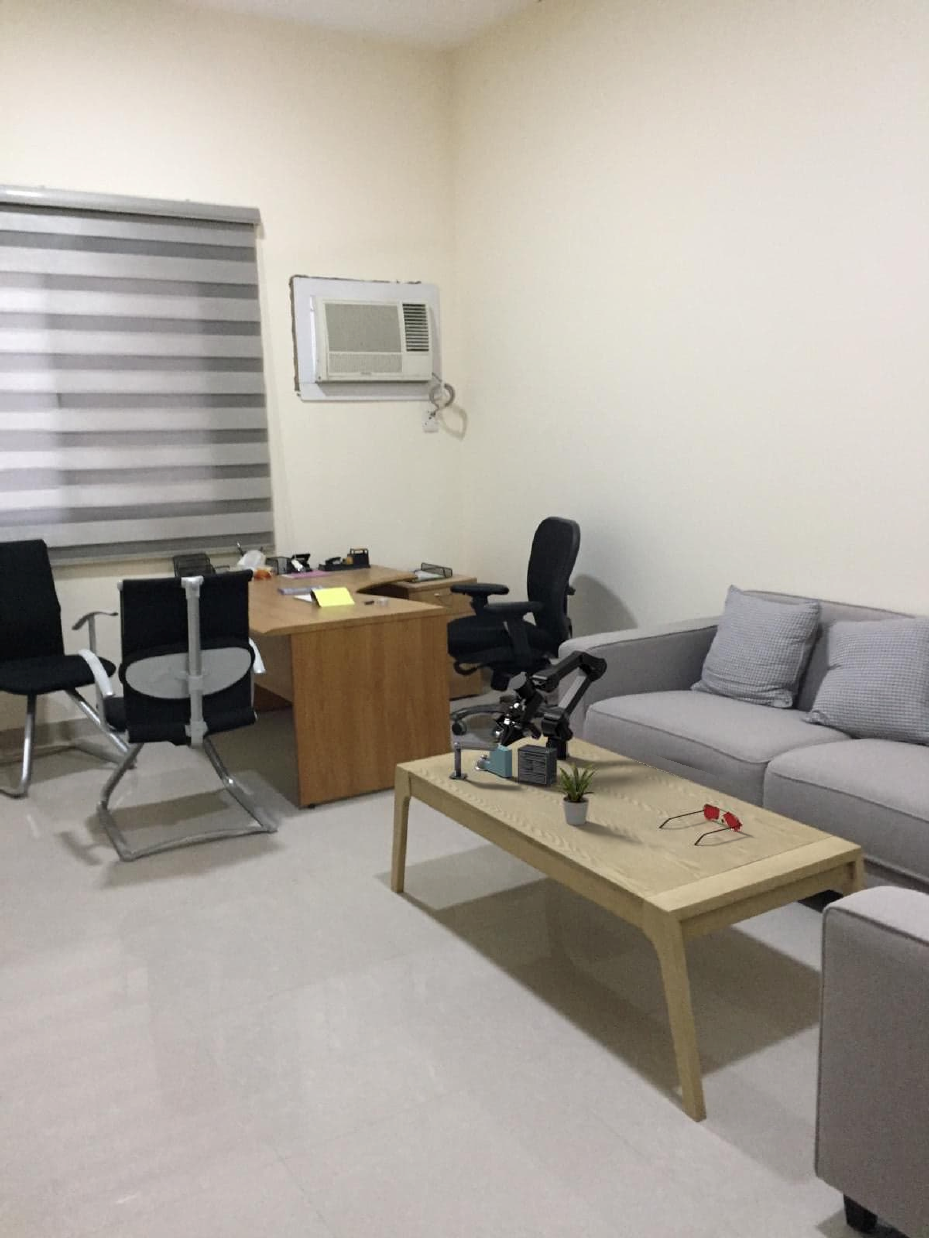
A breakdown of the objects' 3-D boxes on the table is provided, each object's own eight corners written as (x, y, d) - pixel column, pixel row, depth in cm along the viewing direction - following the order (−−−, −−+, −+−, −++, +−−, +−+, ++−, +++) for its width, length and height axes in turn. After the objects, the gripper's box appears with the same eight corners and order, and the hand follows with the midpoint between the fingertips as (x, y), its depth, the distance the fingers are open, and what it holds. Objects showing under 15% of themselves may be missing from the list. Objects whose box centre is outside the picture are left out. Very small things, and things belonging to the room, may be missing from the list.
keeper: (498, 777, 306) (498, 743, 304) (494, 782, 301) (494, 748, 300) (453, 773, 310) (453, 740, 308) (448, 778, 305) (448, 744, 304)
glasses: (743, 834, 259) (743, 816, 258) (694, 847, 251) (695, 827, 250) (705, 818, 271) (705, 800, 270) (657, 829, 263) (658, 811, 262)
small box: (558, 781, 302) (558, 747, 300) (548, 787, 296) (548, 753, 295) (527, 776, 307) (527, 742, 306) (516, 781, 302) (516, 748, 300)
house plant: (610, 814, 273) (611, 756, 270) (603, 832, 260) (604, 772, 257) (558, 810, 277) (559, 753, 274) (549, 827, 264) (549, 767, 261)
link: (473, 765, 317) (473, 739, 315) (486, 762, 319) (486, 737, 318) (501, 778, 304) (501, 751, 303) (514, 775, 307) (514, 748, 305)
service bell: (497, 764, 318) (497, 753, 318) (492, 771, 312) (492, 759, 311) (476, 763, 320) (476, 751, 320) (470, 769, 314) (470, 757, 313)
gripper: (495, 687, 318) (468, 726, 313) (534, 697, 303) (506, 739, 298) (514, 707, 324) (487, 746, 319) (553, 718, 309) (526, 760, 304)
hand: (501, 747), depth 310 cm, fingers closed, pressing on link
